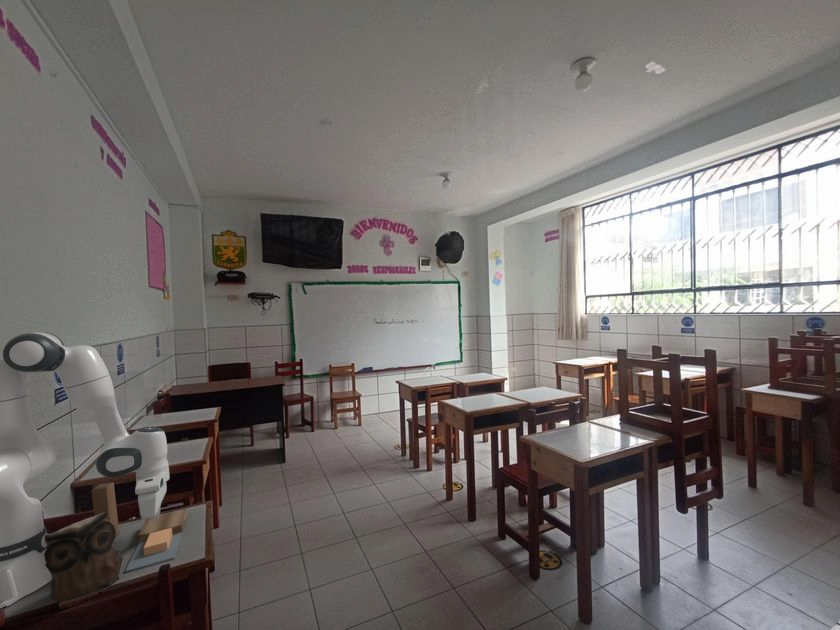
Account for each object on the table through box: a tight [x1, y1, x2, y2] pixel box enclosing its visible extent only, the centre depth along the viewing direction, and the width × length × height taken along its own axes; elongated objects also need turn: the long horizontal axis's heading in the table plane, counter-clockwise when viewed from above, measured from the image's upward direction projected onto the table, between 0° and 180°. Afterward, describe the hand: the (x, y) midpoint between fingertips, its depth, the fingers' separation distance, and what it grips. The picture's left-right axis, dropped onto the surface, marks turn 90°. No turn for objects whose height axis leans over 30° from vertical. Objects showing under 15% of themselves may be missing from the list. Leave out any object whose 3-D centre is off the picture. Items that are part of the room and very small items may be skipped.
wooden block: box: [91, 482, 120, 536], centre depth 131 cm, size 9×4×18 cm, turn 100°
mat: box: [124, 532, 183, 574], centre depth 122 cm, size 12×15×1 cm
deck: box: [137, 508, 188, 544], centre depth 134 cm, size 12×12×3 cm
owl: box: [44, 512, 124, 604], centre depth 105 cm, size 13×13×20 cm
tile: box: [144, 528, 173, 556], centre depth 124 cm, size 6×9×2 cm, turn 24°
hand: (156, 518), depth 128 cm, fingers closed
